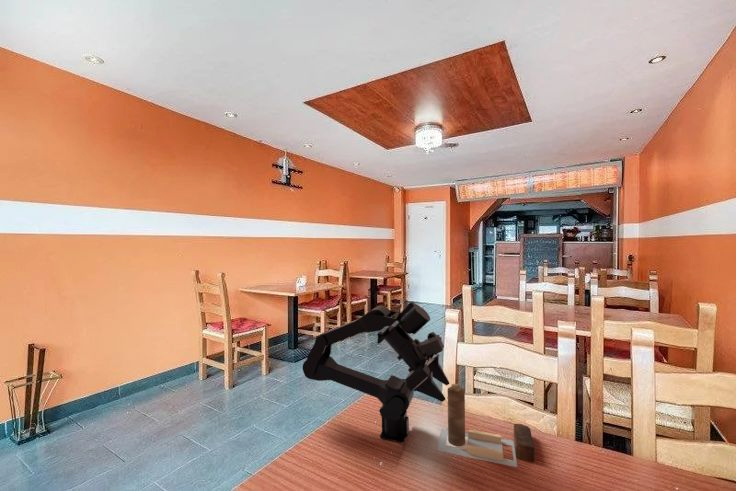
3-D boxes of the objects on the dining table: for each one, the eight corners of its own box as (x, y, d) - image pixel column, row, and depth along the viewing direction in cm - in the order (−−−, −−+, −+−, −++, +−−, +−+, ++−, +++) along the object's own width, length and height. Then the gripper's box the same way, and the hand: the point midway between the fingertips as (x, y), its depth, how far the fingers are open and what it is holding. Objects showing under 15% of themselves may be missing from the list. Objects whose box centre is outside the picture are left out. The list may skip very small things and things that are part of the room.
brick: (534, 468, 74) (534, 447, 74) (515, 463, 75) (515, 444, 75) (530, 441, 84) (529, 423, 84) (513, 438, 85) (513, 420, 85)
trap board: (436, 455, 78) (436, 443, 78) (441, 432, 88) (441, 422, 88) (517, 472, 72) (517, 460, 72) (513, 445, 82) (513, 434, 82)
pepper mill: (447, 444, 80) (446, 388, 80) (449, 434, 84) (448, 381, 84) (464, 447, 79) (464, 390, 79) (465, 437, 83) (465, 383, 83)
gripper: (417, 335, 75) (467, 389, 72) (430, 317, 93) (470, 359, 89) (385, 364, 78) (432, 417, 74) (404, 341, 96) (442, 383, 92)
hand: (446, 392), depth 82 cm, fingers open, 9 cm apart
